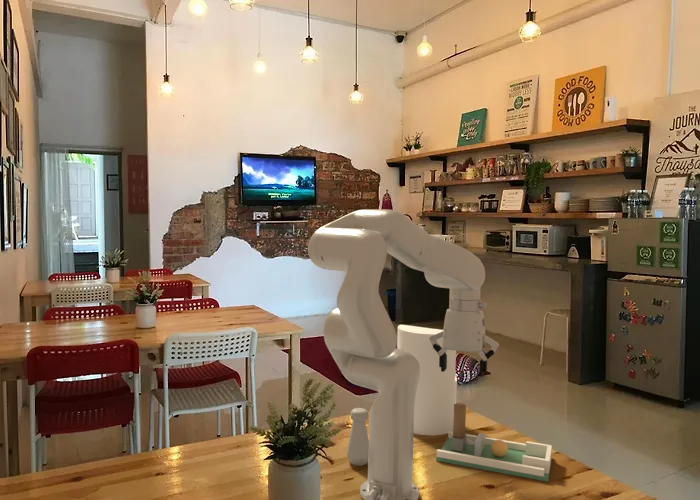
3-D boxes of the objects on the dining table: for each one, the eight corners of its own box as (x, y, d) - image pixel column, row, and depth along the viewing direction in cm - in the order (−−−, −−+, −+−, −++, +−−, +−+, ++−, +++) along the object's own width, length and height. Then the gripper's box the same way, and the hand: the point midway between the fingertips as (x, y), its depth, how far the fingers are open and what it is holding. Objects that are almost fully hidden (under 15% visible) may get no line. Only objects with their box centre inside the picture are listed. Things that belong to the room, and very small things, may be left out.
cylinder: (441, 440, 152) (444, 337, 150) (384, 426, 161) (387, 329, 159) (464, 421, 166) (467, 326, 165) (411, 409, 175) (413, 320, 174)
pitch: (548, 481, 129) (548, 464, 129) (436, 460, 139) (436, 444, 139) (551, 457, 142) (552, 442, 141) (449, 440, 152) (449, 425, 151)
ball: (506, 460, 137) (506, 444, 137) (489, 457, 139) (489, 441, 138) (508, 454, 141) (508, 438, 141) (491, 451, 142) (492, 436, 142)
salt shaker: (368, 468, 134) (369, 414, 133) (344, 466, 135) (345, 412, 134) (372, 458, 139) (373, 406, 138) (349, 456, 140) (350, 404, 140)
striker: (480, 456, 139) (481, 412, 138) (450, 451, 141) (451, 408, 141) (484, 447, 144) (486, 405, 143) (455, 442, 147) (456, 400, 146)
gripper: (502, 306, 141) (499, 373, 142) (434, 300, 148) (432, 365, 149) (497, 310, 134) (495, 381, 136) (426, 304, 141) (425, 372, 142)
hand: (462, 372), depth 142 cm, fingers open, 9 cm apart
